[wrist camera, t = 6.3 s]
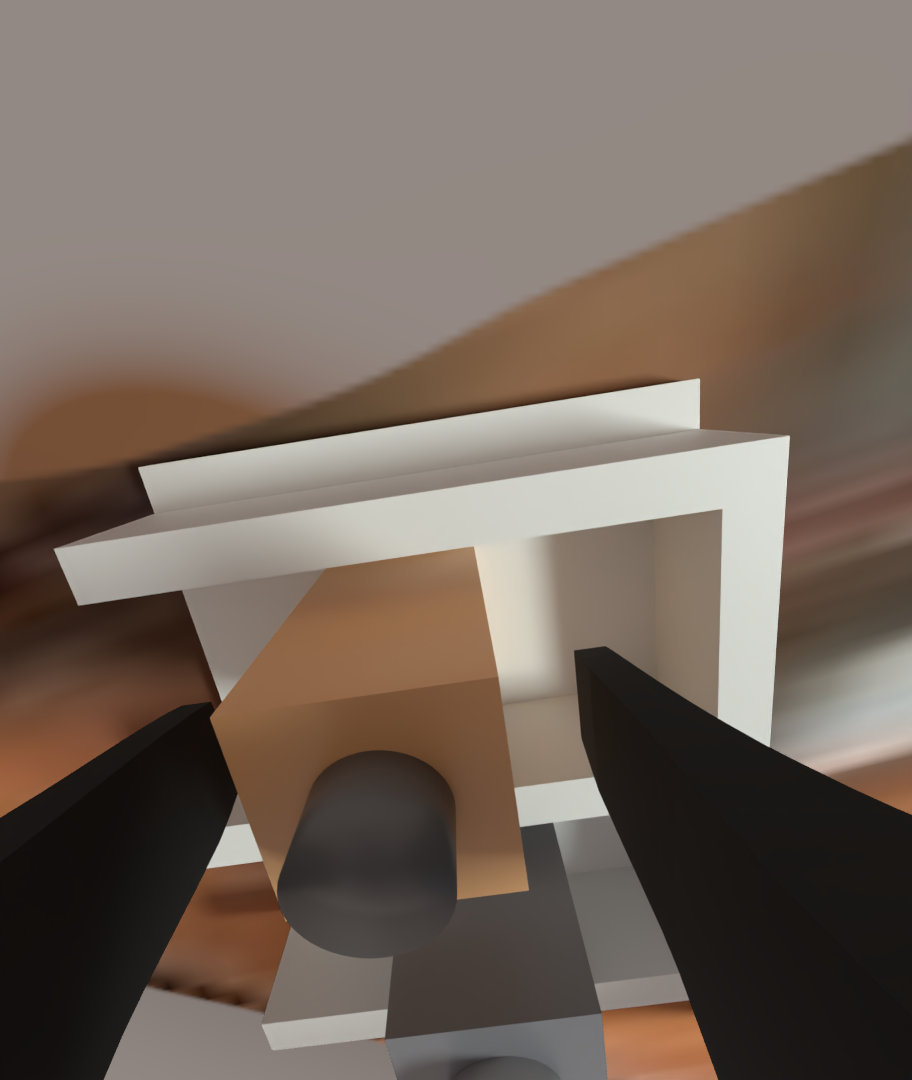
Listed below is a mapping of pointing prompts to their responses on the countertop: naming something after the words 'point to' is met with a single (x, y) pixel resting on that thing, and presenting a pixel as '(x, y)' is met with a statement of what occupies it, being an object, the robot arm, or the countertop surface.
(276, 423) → the countertop surface
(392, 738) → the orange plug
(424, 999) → the charcoal plug
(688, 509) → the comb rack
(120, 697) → the countertop surface
